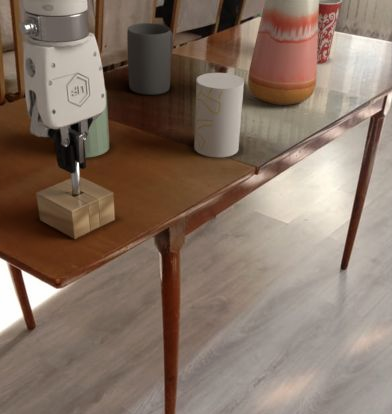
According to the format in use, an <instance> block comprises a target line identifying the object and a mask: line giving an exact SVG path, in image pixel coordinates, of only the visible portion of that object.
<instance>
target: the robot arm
mask: <svg viewBox="0 0 392 414" xmlns="http://www.w3.org/2000/svg"><path fill="white" fill-rule="evenodd" d="M22 4H23V5H22V6H23V14H24V21H22V22H19V24H18V29H19V32H20V34H21V35H23V36H25V35H26V36H27V39H25V40H24V44H23V85H24V95H25V103H26V110H27V114H28V117H29V119H30V127H29V132H30V134H31V135H34V136H36V137H38V138H49V139H50V141H51V142H53V143H54V148H55V149H54V150H55V158H56V164H57V167H58V168H59V169H62V170H63V171H65V172H68V173H70V174H71V173H74V172H75V171H76V164H75V154H74V146H73V145H72V144H69V143H70V139H69V133H68V127H69V128H71V129H73V130H75V131H76V132H78V133H80V134H82V135H83V155H84V162H83V163H79V166H80V170H84V169H86V168H87V159H86V158H85V157H86V155H85V143H84V140H86V139H87V137H88V129H89V127H90V126H91V124H92V122H93V121H94V120H95V119H96V118H98V117H99V116H100V115H101V114H102V112H103V111H104V110H105V107H106V95H105V89H106V85H105V78H104V69H103V63H102V59H101V54H100V49H99V46H98V42H97V39H96V36H95V34H94V33H93V32H90V23H89V10H88V9H89V7H88V0H22ZM67 126H68V127H67Z"/></svg>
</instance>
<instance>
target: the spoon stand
mask: <svg viewBox="0 0 392 414" xmlns="http://www.w3.org/2000/svg"><path fill="white" fill-rule="evenodd" d="M80 192H81V194H80V195H78V196H76V197H73V196H72V180H71V177H70V178H68V179H65V180H63V181H61V182H58V183H56V184H54V185H51V186H49V187H46V188H44V189H41V190H39V191H37V192H35V194H36V201H37V208H38V215H39V220H40V221H41V222H42V223H44V224H47V225H49V227H52V228H54V229H56V230H57V231H59V232H61V233H63V234H65V235H66V236H68V237H70V238H72V239H73V240H77V239H78V238H81V237H83V236H85V235H86V234H89V233H90V232H93V231H94V230H97V229H99V228H101V227H103V226H105V225H108V224H109V223H111V222H114V221H115V220H116V214H115V197H114V192H113V191H111V190H109V189H107V188H105V187H103V186H101V185H99V184H96V183H94V182H93V181H90V180H89V179H86V178H84V177H82V176H80Z"/></svg>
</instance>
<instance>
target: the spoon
mask: <svg viewBox="0 0 392 414" xmlns="http://www.w3.org/2000/svg"><path fill="white" fill-rule="evenodd" d="M68 133H69V139H70V143H69V144H72V145H73V146H74V154H75V164H76V171H75V172H74V173H70V176H71V177H70V178H71V180H72V196H73V197H76V196H78V195H80V194H81V192H80V177H81V173H80V172H81V168H80V166H79V163H83V162H84V155H83V135H82V134H80V133H78V132H76V131H75V130H73V129H71V128H69V127H68Z"/></svg>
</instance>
